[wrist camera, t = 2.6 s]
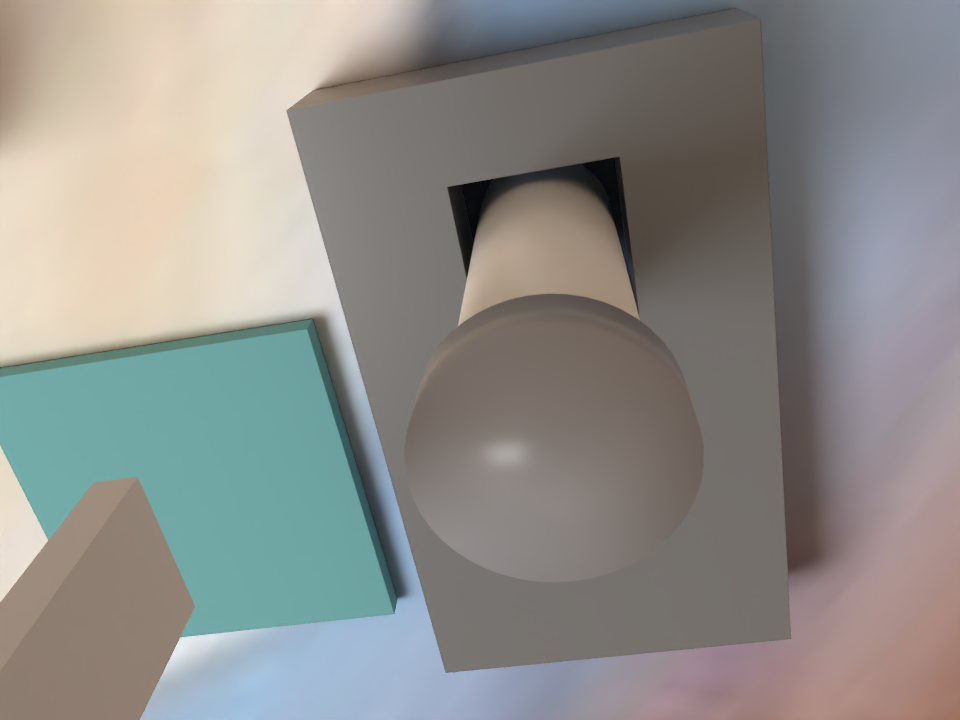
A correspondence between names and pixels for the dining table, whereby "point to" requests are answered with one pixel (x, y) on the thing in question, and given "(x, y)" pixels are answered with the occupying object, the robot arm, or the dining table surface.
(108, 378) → the mat
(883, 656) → the dining table surface
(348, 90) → the grey socket plate
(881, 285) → the dining table surface
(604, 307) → the plug
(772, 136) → the dining table surface
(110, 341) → the dining table surface
